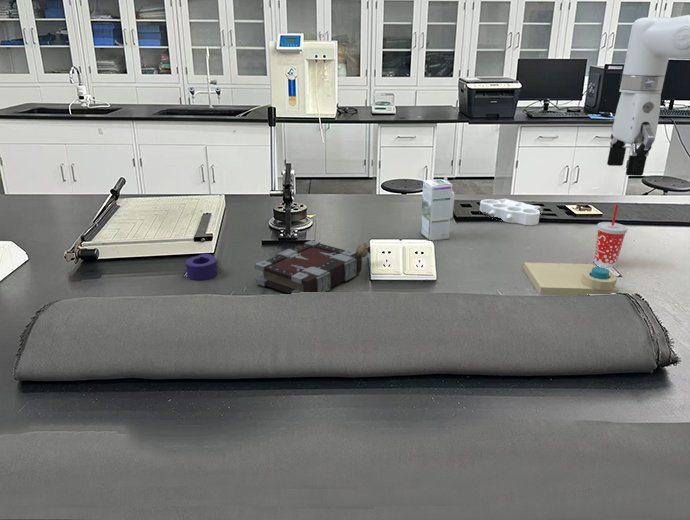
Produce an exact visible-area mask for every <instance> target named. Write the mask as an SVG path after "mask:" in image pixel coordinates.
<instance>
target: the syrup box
mask: <svg viewBox="0 0 690 520" xmlns="http://www.w3.org/2000/svg"><path fill="white" fill-rule="evenodd" d="M449 182H450V181H449ZM449 182H447V181H445V180H444V178H443V179H442V178H432V179H426V180H423V181H422V195H421V196H422V197H421V216H420V217H421V218H420V235H421V236H423V237H424V238H425V239H427V240H428V241H430V240H432V241H442V240H443V241H444V240H449V239H450V229H451V228H450V227H451V226H450V225H451V224H450V223H451V219H450V213H451V198H452V191H453V183H451V182H450V183H449Z"/></svg>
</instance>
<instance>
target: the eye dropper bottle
mask: <svg viewBox="0 0 690 520" xmlns="http://www.w3.org/2000/svg"><path fill="white" fill-rule="evenodd" d="M443 180H445V181H447V182H449V183H451V182H450V181H449V180H448V177H447V176H444V177H443ZM455 195H456V194H455V192H454V191H453V190H452V198H451V213H450V220H452V219H453V218H454V209H455V207H454V206H455V198H456V197H455Z"/></svg>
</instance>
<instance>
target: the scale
mask: <svg viewBox="0 0 690 520" xmlns="http://www.w3.org/2000/svg"><path fill="white" fill-rule="evenodd" d="M594 267H597V265H596V264H595V263H570V262H569V263H567V262H566V263H563V262H562V263H561V262H529V261H528V262H523V267H522V270H523V271H524V273H525V274H526V276H527V277H528V279H529V280H530V282H531V283H532V285H533V286H534V289H536V291H537V292H538V294H539V295H540V296H541V295H544V296H545V295H546V296H547V295H548V296H577V295H587V294H588V295H589V294H611V293H618V292H619V289H618V288H617V286H616V284H617V280H618V277H617V276H616V275H615V274H614V273H611V272H609V277H608V279H597V278H594V277H592V276H591V272H592V268H594Z"/></svg>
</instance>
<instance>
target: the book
mask: <svg viewBox="0 0 690 520" xmlns="http://www.w3.org/2000/svg"><path fill="white" fill-rule="evenodd" d="M370 248H371V247H370V246H368V243H367V242H365V243H362V244H359V245H357V247H356V249H355V251H354V250H350V249H343V248H338V247H335V246H331V245H327V244H324V243H321V242H320V241H317V240H313V239H310V240H308V241H306V242H304V244H302V245H300V246H298V247H295V248H293V249H292V248H287V249H285V250H281V252H278V253H275V254H274V256H273V257H271V258H269V259H267V260H260V261H258V262H256V263H254V270H258V271H261V272H263V273H262V274H263V275H260V276H257V278H255V284H257V285H258V286H262V287H268V288H271V289H274V290H277V291H280V292H282V293H285V294H288V293H300V292H326V291H327V292H329V291H330V290H331V288H333V287H335V286H338V285H339V284H341V283H342V282H347V281H349V280H352V279H353V278H354V277H356V276H357V274H359V273H361V271H362V265H363V259H362V258H366V257H367V256H368V253H371V252H370ZM327 292H326V293H327Z"/></svg>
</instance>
